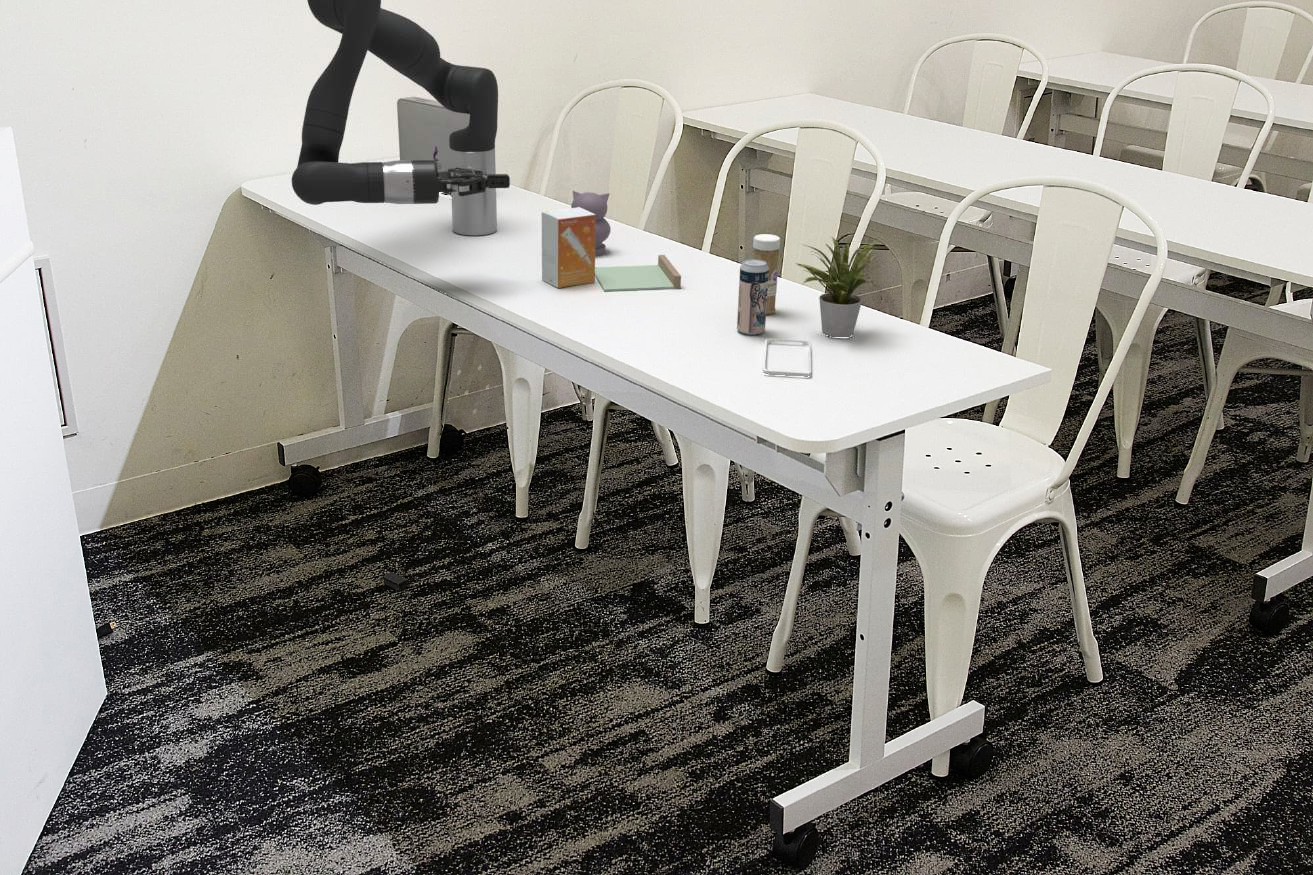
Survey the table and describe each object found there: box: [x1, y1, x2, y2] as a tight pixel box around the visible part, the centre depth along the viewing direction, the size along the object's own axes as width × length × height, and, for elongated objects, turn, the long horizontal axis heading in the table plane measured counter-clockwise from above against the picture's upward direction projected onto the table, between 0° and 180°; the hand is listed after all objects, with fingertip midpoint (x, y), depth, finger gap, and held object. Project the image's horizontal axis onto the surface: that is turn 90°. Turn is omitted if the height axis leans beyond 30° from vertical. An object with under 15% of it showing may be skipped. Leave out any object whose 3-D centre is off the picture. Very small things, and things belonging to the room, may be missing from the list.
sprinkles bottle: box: [752, 233, 781, 316], centre depth 228 cm, size 5×5×13 cm
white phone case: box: [762, 338, 812, 377], centre depth 209 cm, size 7×1×15 cm
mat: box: [595, 254, 682, 292], centre depth 246 cm, size 14×14×2 cm
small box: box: [541, 207, 596, 289], centre depth 241 cm, size 8×6×13 cm
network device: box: [396, 96, 470, 172], centre depth 303 cm, size 26×9×20 cm, turn 50°
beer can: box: [736, 258, 769, 336], centre depth 218 cm, size 5×5×12 cm
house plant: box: [794, 236, 881, 338], centre depth 219 cm, size 14×14×16 cm
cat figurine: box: [570, 190, 612, 257], centre depth 260 cm, size 8×8×12 cm
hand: (509, 181), depth 234 cm, fingers closed
